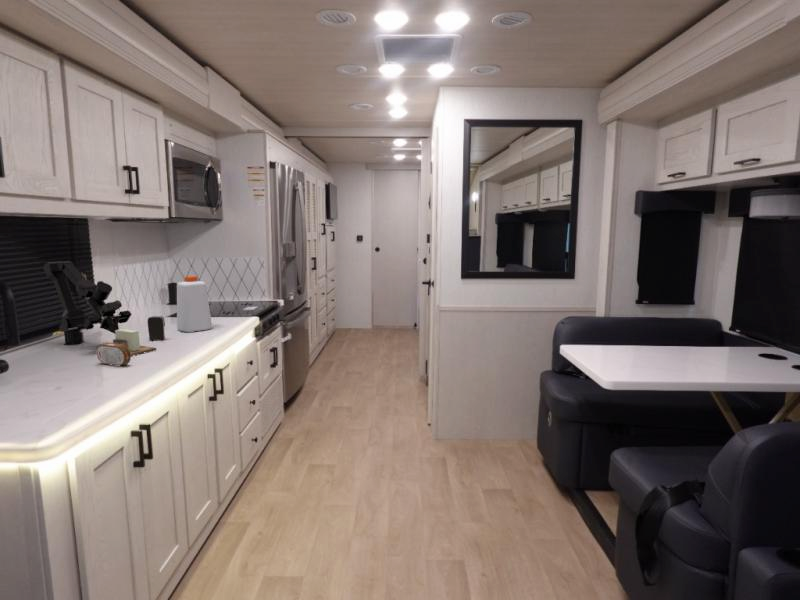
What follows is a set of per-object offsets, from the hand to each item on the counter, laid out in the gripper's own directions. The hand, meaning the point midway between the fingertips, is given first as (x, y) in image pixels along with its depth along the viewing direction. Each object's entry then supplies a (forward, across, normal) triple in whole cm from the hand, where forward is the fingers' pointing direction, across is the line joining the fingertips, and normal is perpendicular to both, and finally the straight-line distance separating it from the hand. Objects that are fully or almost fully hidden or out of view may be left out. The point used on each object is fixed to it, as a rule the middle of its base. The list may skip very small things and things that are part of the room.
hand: (118, 334), depth 209 cm
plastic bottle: (0, +46, +10) cm, 47 cm away
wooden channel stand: (+10, 0, +1) cm, 10 cm away
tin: (+19, -16, -8) cm, 26 cm away
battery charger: (+3, +21, +8) cm, 23 cm away
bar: (+8, 0, 0) cm, 8 cm away
